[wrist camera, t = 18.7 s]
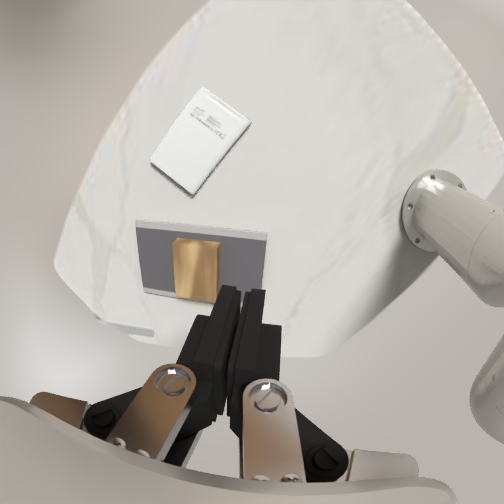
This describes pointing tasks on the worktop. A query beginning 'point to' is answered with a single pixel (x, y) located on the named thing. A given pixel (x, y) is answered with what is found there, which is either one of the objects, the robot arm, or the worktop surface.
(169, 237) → the mat
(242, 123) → the external hard drive
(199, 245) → the wooden block
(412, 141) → the worktop surface
